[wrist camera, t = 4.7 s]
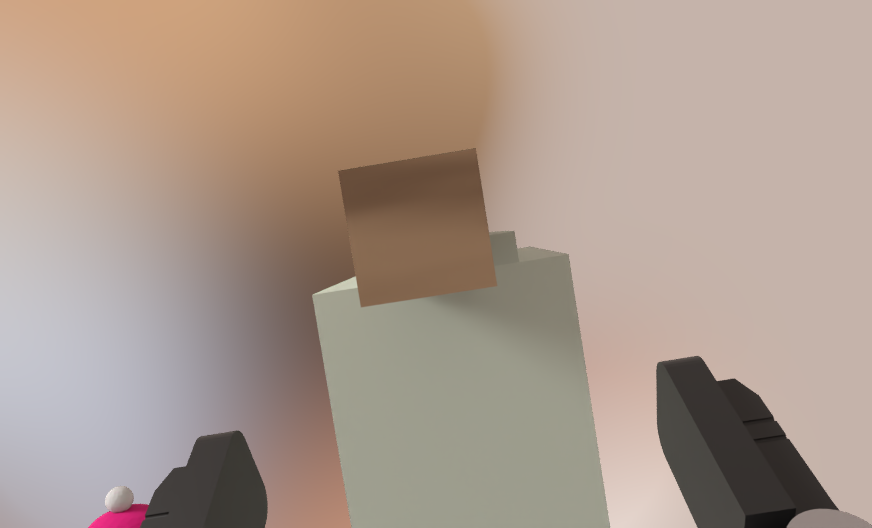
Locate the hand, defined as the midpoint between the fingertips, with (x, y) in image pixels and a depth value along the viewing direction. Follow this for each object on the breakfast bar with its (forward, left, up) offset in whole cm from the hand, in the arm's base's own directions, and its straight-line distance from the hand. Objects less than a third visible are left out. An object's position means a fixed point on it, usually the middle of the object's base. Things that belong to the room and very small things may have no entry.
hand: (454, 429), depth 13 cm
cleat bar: (+13, +8, +2) cm, 16 cm away
